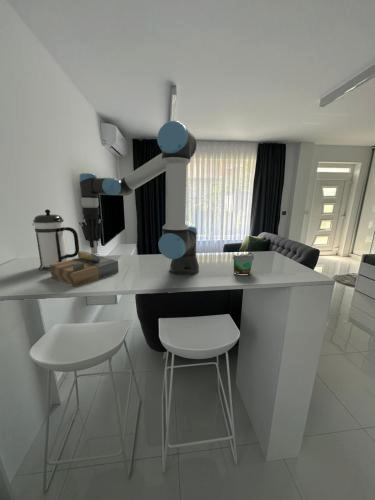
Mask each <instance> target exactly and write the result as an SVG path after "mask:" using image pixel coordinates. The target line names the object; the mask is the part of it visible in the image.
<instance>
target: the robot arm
mask: <svg viewBox="0 0 375 500" xmlns="http://www.w3.org/2000/svg"><path fill="white" fill-rule="evenodd" d="M156 139H157V140H156V141H157V145H158V147H159V149H160V150H161V153H159V154H158V155H156V156H155V157H153V158H152V159H150V160H149V161H147V162H145V163H144V164H142V165H141V166H139V167H138V168H136V169H135V170H134V171H132V172H130V173H129V174H127V175H126V176H124V177H122V178H121V179H117V178H115V177H114V178H113V177H105V178H104V177H97V175H96V174H95V173H88V172H83V173H80V174H79V187H80V196H81V197H80V199H81V206H82V208H81V210H82V215H83V219H82V221H79V222H78V223H79V226H80V227H81V230H82V233H83V236H84V240H85V241H87V242H89V247H90V251H91V252H90V253H92V254H98V247H99V242H98V241H100V240H101V238H102V229H103V224H104V220H103V219H100V217H99V215H100V208H99V205H100V204H99V196H100V195H103V196H107V195H108V196H124V197H126V196H131V195H132V193H133V192H134V191H135V189H137V188H139V187H141V186H143V185H144V184H146V183H147V182H149V181H151V180H152V179H155V178H156V177H157V176H159V175H160V174H163V173H164V172H165V224H164V225H163V226H162V229H161V231H162V233H161V237H159V239H158V240H159V241H158V243H157V244H158V249H159V252H160V254H162V255H163V256H164V257H165V258H167V259H169V260H171V262H170V265H169V270H170V272H171V273H173V274H177V275H193V274H197V273H198V272H199V271H200V266H199V262H198V258H197V239H198V238H197V236H198V231H197V227H196V226H188V225H187V223H186V217H187V214H186V212H187V210H186V209H187V207H186V206H187V205H186V204H187V168H188V167H187V166H188V164H190V163H191V158H192V157H193V156H194V155H195V154H196V151H197V141H196V137H195V136H194V134H193V133H191V132H190V130H189V129H188V128H187V126H186V125H185V124H184V123H181V122H180V121H177V120H170V121H167V122H165V123H163V125H162V126H161V127H160V129H159V130H158V132H157V137H156Z"/></svg>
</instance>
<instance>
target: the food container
mask: <svg viewBox="0 0 375 500" xmlns="http://www.w3.org/2000/svg"><path fill="white" fill-rule="evenodd" d="M254 256H255V255H254V254H253V253H252V252H250V251H249V253H247V254H239V255H235V254H233V256H232V260H233V274H234V273H236V274H249V273H250V274H251V271H252V266H253V265H252V264H253V261H254V259H255V257H254ZM250 274H249V275H250Z"/></svg>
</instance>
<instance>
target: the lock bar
mask: <svg viewBox="0 0 375 500" xmlns="http://www.w3.org/2000/svg"><path fill="white" fill-rule="evenodd" d="M77 258H81V259H85V260H88V261H91V262H92V263H98V262H100V254H98V253H97V254H93V253H91V252H87V251H84V250H79V252H78V255H77Z"/></svg>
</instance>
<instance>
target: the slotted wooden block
mask: <svg viewBox="0 0 375 500" xmlns="http://www.w3.org/2000/svg"><path fill="white" fill-rule="evenodd" d="M99 256H100V255H99ZM49 269H50V273H51V277H52V278H54V279H56V280H59V281H60V282H63V283H65V284H68V285H70V286H72V287H79V286H82V285H85V284H88V283H92V282H94V280H95V281H97V279H98V280H100V278H101V279H103V277H104V278H106V277H105V276H107V277H109V275H110V276H113V275H116V274H119V272H120V271H119V261H118V260H116V259H111V258H108V257H104V256H100V262H98V263H92V262H91V261H88V260H85V259H81V258H78V257H77V258H76V257H75V258H72V259H69V260H68V259H67V261H63V262H58V263H54V264H50V267H49ZM112 274H113V275H112Z"/></svg>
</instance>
